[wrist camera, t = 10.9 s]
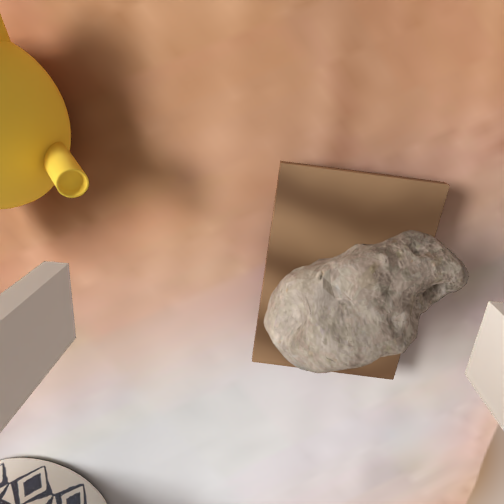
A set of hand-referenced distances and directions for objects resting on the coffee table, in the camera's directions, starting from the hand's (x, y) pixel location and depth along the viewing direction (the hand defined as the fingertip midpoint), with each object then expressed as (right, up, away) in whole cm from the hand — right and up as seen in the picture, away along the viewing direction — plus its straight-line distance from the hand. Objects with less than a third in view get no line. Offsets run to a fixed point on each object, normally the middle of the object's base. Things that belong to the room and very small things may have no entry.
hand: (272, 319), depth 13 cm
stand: (+7, +1, +24) cm, 25 cm away
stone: (+7, 0, +21) cm, 22 cm away
